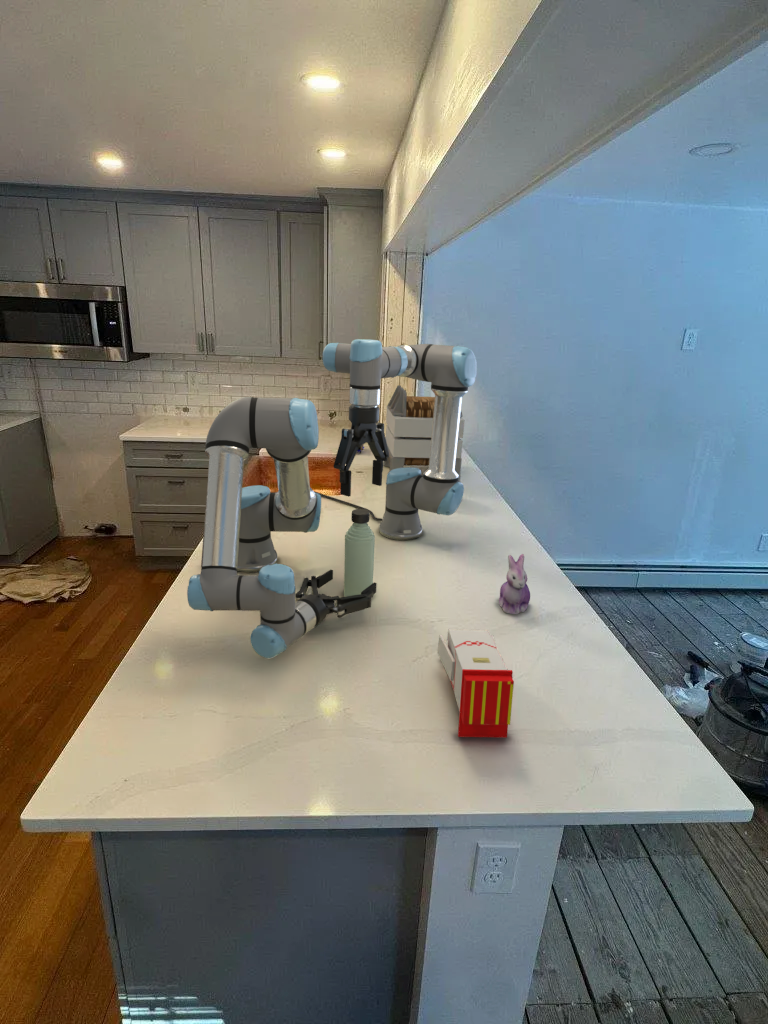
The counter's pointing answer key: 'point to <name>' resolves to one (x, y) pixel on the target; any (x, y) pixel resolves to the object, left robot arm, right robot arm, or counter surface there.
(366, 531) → the bottle
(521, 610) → the figurine
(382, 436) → the right robot arm
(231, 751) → the counter surface
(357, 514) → the cap
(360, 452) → the figurine character
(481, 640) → the toy
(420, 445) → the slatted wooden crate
